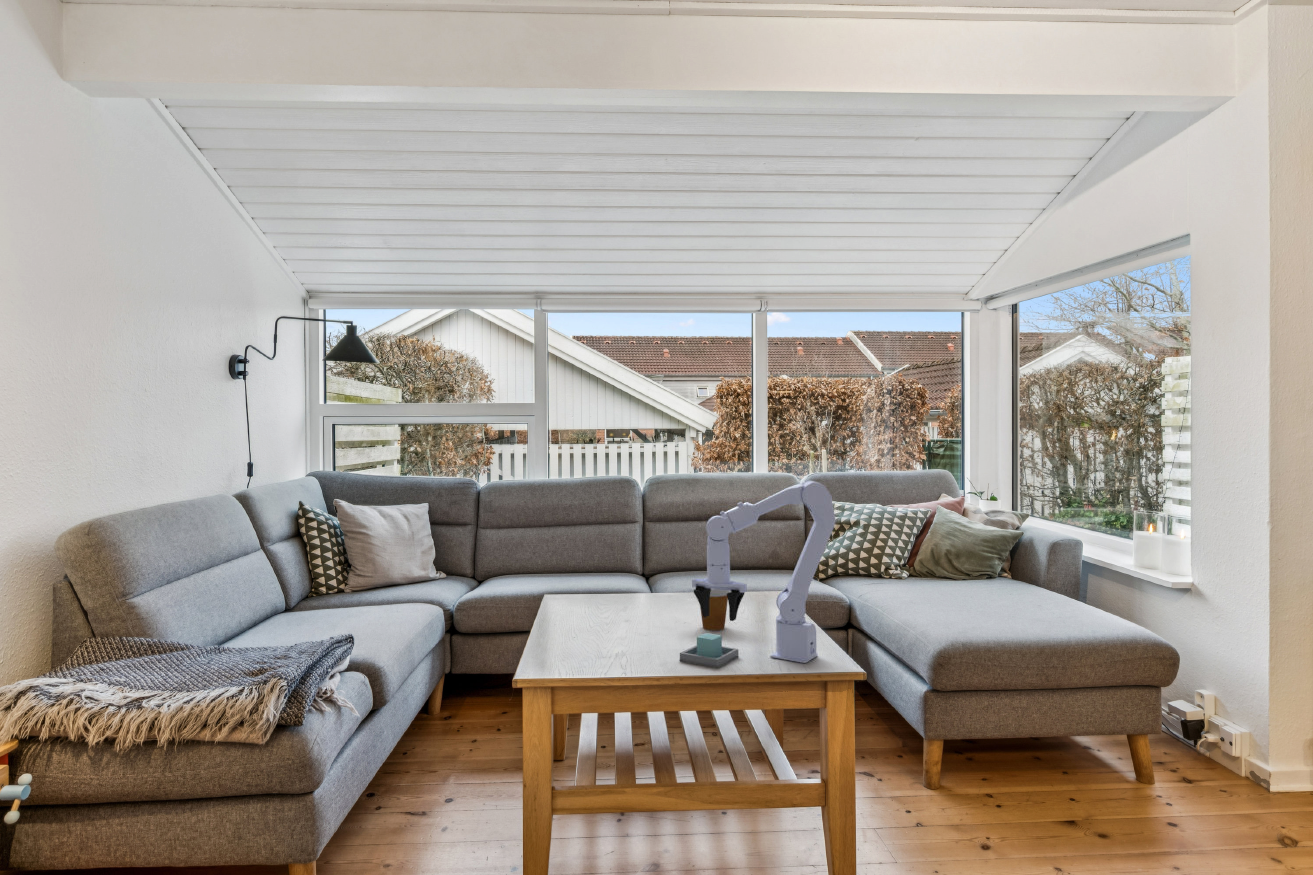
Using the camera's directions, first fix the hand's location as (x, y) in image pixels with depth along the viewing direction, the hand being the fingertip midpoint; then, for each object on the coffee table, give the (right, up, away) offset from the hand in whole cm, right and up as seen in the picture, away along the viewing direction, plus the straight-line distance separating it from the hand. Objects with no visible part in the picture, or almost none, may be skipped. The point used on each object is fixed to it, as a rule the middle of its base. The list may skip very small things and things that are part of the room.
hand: (719, 618), depth 180 cm
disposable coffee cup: (+1, -10, +27) cm, 29 cm away
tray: (-3, -9, -3) cm, 10 cm away
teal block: (-3, -9, -3) cm, 10 cm away
